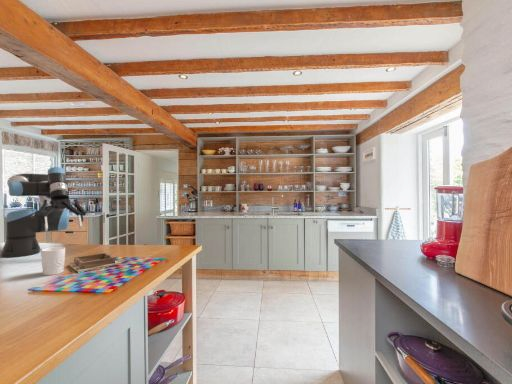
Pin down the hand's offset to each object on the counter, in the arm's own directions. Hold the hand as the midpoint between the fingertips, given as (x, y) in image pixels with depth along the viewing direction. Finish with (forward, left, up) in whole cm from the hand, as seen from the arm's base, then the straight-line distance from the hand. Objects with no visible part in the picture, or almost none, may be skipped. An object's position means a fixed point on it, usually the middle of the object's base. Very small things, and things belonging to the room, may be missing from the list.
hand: (64, 228), depth 126 cm
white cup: (+21, -7, -16) cm, 27 cm away
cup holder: (+21, +8, -15) cm, 27 cm away
